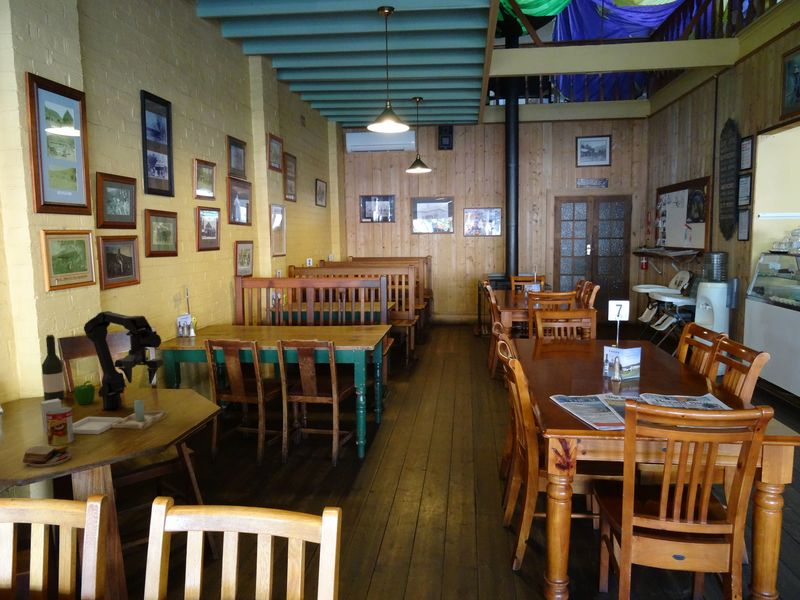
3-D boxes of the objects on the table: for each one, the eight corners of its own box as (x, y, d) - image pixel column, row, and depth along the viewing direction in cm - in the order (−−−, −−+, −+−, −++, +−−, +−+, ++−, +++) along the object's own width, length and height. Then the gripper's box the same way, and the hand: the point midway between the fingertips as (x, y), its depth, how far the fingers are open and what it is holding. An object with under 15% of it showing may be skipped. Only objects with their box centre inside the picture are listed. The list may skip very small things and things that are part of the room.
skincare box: (60, 428, 221) (58, 398, 220) (63, 430, 218) (61, 400, 217) (42, 432, 217) (40, 401, 215) (45, 434, 214) (43, 403, 212)
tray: (141, 429, 218) (140, 425, 218) (112, 428, 219) (111, 424, 219) (166, 415, 236) (166, 411, 235) (139, 414, 237) (139, 410, 237)
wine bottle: (58, 401, 259) (53, 336, 256) (40, 401, 259) (35, 336, 256) (69, 396, 267) (64, 333, 264) (51, 396, 267) (46, 333, 264)
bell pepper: (72, 406, 251) (70, 384, 250) (77, 401, 258) (76, 379, 257) (92, 404, 253) (91, 382, 252) (98, 400, 260) (96, 378, 259)
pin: (133, 421, 226) (132, 402, 225) (138, 419, 229) (137, 399, 228) (141, 421, 225) (140, 402, 225) (146, 419, 229) (145, 399, 228)
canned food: (50, 440, 207) (47, 408, 206) (75, 437, 210) (72, 406, 209) (46, 447, 200) (44, 414, 198) (72, 444, 203) (69, 411, 201)
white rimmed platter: (61, 434, 214) (61, 428, 214) (88, 421, 229) (88, 416, 229) (98, 435, 212) (98, 430, 212) (122, 422, 227) (122, 417, 227)
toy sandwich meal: (58, 468, 182) (57, 454, 181) (16, 469, 181) (14, 455, 181) (79, 453, 194) (79, 440, 194) (40, 454, 194) (39, 441, 193)
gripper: (105, 349, 229) (107, 387, 231) (148, 350, 227) (150, 388, 229) (121, 344, 240) (124, 380, 242) (163, 345, 238) (165, 381, 239)
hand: (140, 383), depth 238 cm, fingers open, 9 cm apart
